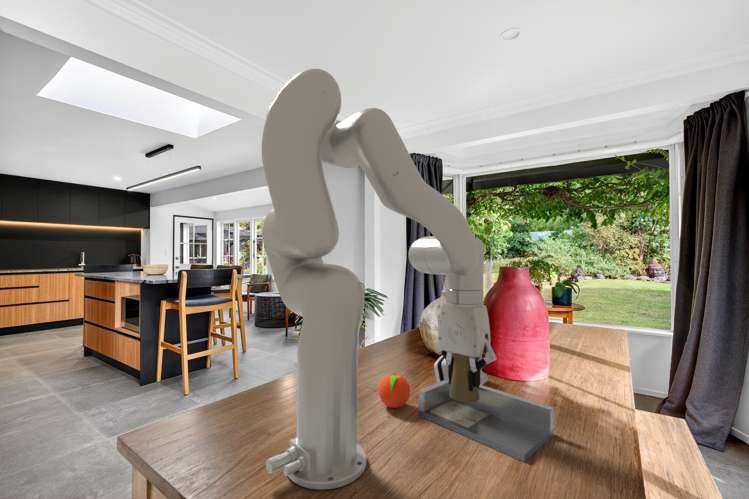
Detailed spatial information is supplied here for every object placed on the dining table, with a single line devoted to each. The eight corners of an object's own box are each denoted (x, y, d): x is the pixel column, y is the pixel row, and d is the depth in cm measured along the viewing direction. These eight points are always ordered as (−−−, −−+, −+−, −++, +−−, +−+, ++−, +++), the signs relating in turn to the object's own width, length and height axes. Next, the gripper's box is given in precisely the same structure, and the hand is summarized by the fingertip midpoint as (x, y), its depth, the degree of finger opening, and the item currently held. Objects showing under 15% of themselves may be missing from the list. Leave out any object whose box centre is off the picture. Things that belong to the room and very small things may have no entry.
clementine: (407, 417, 72) (407, 382, 72) (374, 414, 74) (374, 379, 74) (411, 401, 80) (412, 370, 80) (381, 398, 82) (382, 367, 82)
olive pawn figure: (459, 388, 78) (459, 337, 78) (484, 396, 73) (485, 343, 73) (443, 396, 73) (443, 342, 73) (469, 405, 69) (469, 348, 69)
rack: (524, 462, 58) (524, 429, 58) (418, 415, 73) (418, 390, 73) (554, 434, 67) (554, 406, 67) (454, 398, 82) (454, 375, 82)
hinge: (456, 399, 82) (444, 355, 84) (440, 401, 85) (428, 358, 87) (489, 381, 94) (478, 343, 96) (474, 382, 97) (463, 345, 99)
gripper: (421, 295, 77) (420, 379, 77) (493, 304, 65) (492, 404, 65) (441, 292, 82) (441, 371, 82) (511, 300, 70) (511, 393, 70)
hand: (463, 385), depth 73 cm, fingers closed on olive pawn figure, 3 cm apart
